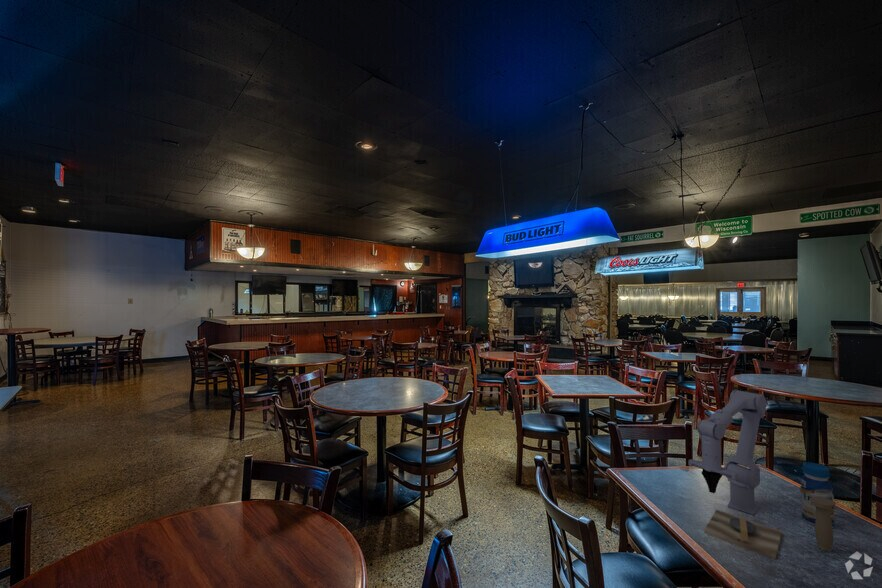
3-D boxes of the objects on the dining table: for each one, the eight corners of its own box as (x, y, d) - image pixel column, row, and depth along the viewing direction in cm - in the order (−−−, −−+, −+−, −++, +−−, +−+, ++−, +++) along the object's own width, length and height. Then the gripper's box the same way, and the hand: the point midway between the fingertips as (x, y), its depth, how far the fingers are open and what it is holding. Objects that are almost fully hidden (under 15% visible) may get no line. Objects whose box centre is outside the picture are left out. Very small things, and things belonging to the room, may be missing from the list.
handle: (841, 552, 115) (839, 503, 115) (827, 555, 113) (825, 506, 114) (822, 542, 119) (820, 496, 120) (808, 546, 118) (806, 498, 118)
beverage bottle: (833, 522, 131) (831, 465, 131) (836, 532, 125) (833, 473, 125) (800, 513, 136) (798, 458, 137) (801, 523, 130) (799, 466, 131)
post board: (716, 512, 137) (716, 507, 137) (781, 534, 124) (781, 528, 124) (704, 533, 125) (704, 527, 125) (775, 559, 111) (775, 552, 111)
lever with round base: (729, 518, 129) (729, 510, 129) (755, 525, 125) (755, 516, 125) (730, 536, 119) (730, 526, 119) (759, 544, 115) (758, 534, 115)
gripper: (684, 450, 138) (685, 486, 137) (731, 463, 126) (732, 503, 125) (692, 446, 142) (693, 481, 141) (738, 458, 130) (740, 497, 129)
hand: (712, 491), depth 134 cm, fingers closed
